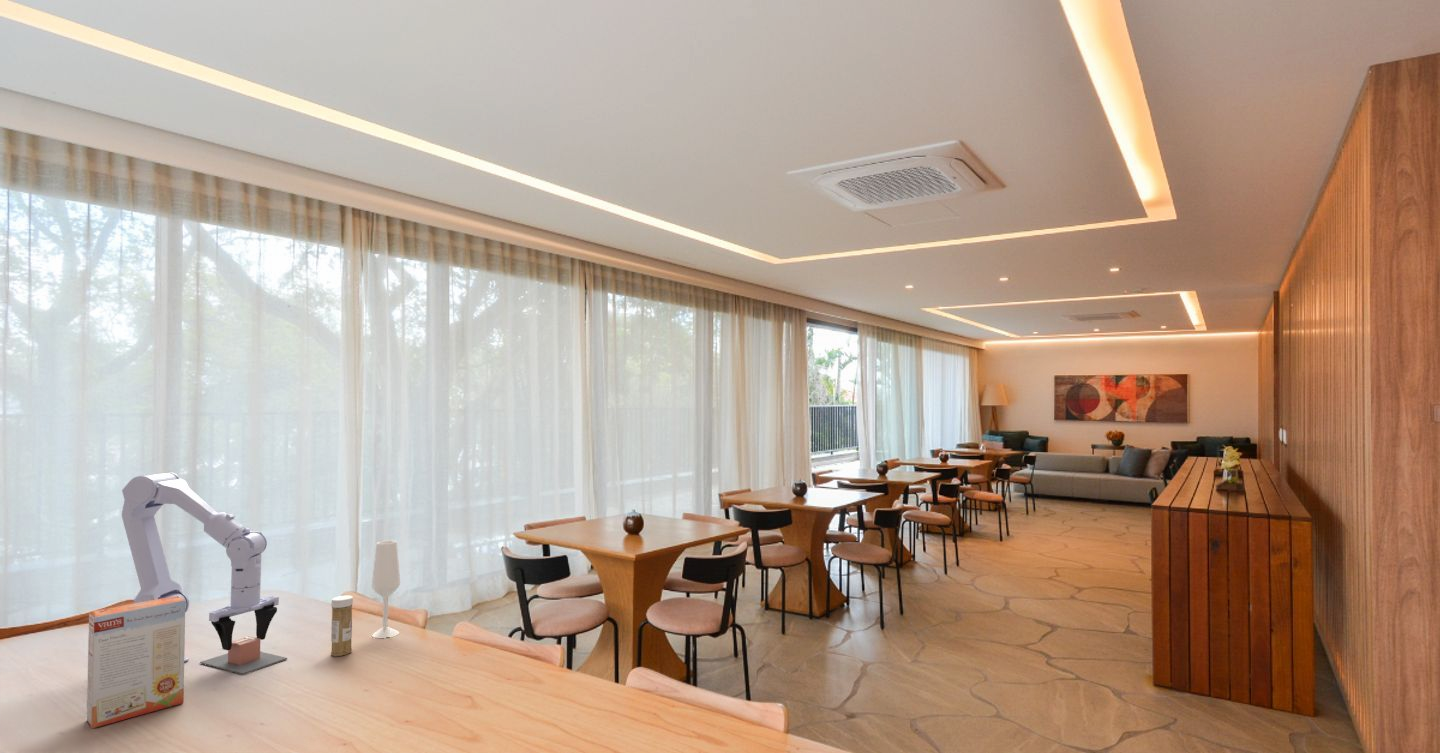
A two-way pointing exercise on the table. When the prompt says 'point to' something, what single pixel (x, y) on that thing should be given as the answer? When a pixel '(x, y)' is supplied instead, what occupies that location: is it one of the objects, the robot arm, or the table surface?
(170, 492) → the robot arm
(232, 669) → the charcoal mat
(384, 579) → the champagne flute
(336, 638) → the sprinkles bottle
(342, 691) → the table surface
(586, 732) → the table surface
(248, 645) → the lettered cube
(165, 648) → the cracker box
